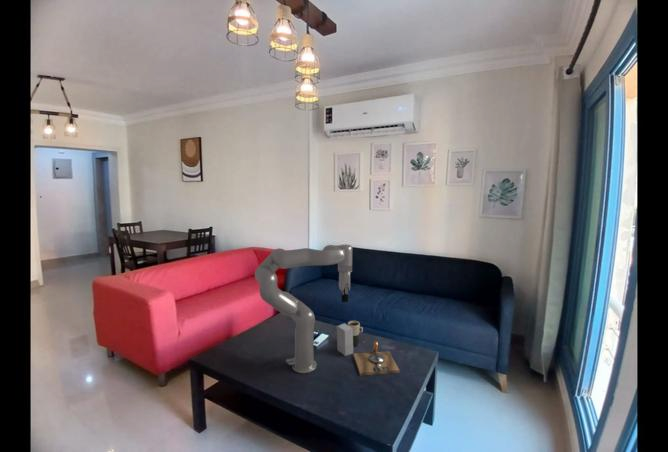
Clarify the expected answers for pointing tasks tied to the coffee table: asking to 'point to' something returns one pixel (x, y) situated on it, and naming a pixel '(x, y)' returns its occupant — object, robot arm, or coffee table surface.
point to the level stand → (375, 364)
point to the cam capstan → (376, 356)
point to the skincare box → (345, 339)
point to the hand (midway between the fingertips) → (344, 301)
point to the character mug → (355, 331)
